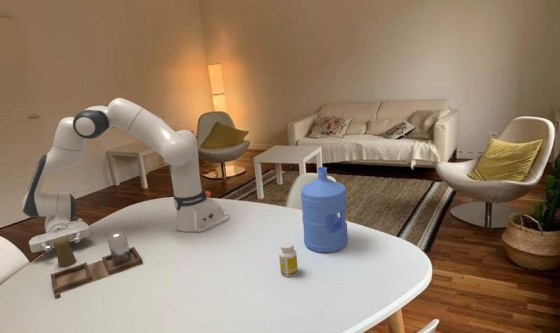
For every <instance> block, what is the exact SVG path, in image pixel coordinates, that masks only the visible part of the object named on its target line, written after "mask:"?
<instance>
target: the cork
mask: <svg viewBox="0 0 560 333" xmlns="http://www.w3.org/2000/svg"><path fill="white" fill-rule="evenodd" d="M53 245H54V247H53V248H54V249H56V256H57V264H58V268H65V269H66V268H68V267H69V268H70V267H72V266H74V265H75V264H76V263H77V259H76V257H75V254H74V252H73V250H72V248H71V242H70V239H69V238H68V237H65V236H64V237H59V238H57V239H55V240H54V242H53Z"/></svg>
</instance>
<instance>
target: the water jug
mask: <svg viewBox="0 0 560 333" xmlns="http://www.w3.org/2000/svg"><path fill="white" fill-rule="evenodd" d="M327 170H328V168H327V167H325V166H320V167H318V168H317V176H318V178H317V179H315V180H313V181H311V182H309V183H306V184H305V185H303V186H302V187H301V189H300V199H301V200H300V202H301V209H302V211H301V212H302V216H301V219H302V225H303V243H304V246H306V247H307V248H308V249H309V250H311V251H314V252H317V253H323V252H324V253H325V252H328V253H333V252H334V251H335V252H337V251H341V250H342V249H344V248H345V247H346V246H347V245H348V242H349V234H348V223H347V221H346V208H347V199H348V197H347V195H348V194H347V189H346V185H344V184H343V183H341V182H339V181H335V180H332V179H329V178H328V171H327ZM338 214H339V216H338ZM324 253H323V254H324Z"/></svg>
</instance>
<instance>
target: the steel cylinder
mask: <svg viewBox="0 0 560 333" xmlns="http://www.w3.org/2000/svg"><path fill="white" fill-rule="evenodd" d="M106 240H107V242H108V248H109V251H110V255H111V256H112V261H113V265H114V266H119V265H122V264H124V263H127V262H130V261H132V259H131V254H130V250H129V248H130V246H129V240H128V237H127V233H126V229H121V228H120V229H119V228H118V229H114V230H112V231H110V232H108V233H107V234H106Z"/></svg>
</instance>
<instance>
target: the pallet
mask: <svg viewBox="0 0 560 333" xmlns="http://www.w3.org/2000/svg"><path fill="white" fill-rule="evenodd" d="M129 250H130V254H131V259H132V261H130V262H127V263H124V264H122V265H119V266H114V265H113V261H112V256H111V254H109V255H105V256H102V257H101V259H102V260H98V261H95V262H93V263H89V264H88V263H87V262H84V263H81V264H80V263H79V264H78V265H75V266H74V265H73V266H70V267H69V268H68V267H67V268H65V269H63V270H59V271H56V272H54V273H50V279H51V280H50V281H51V284H52V285H51V286H52V290H53V293H54V297H55V299H59V298H61V297H62V295H61V294H63V293H66V292H68V291H72V290H74V289H77V288H80V287H83V286H86V285H89V284H91V283H94V282H96V281H100V280H103V279H105V278H108V277H112V276H114V275H116V274H120V273H123V272H126V271H129V270H131V269H134V268H136V267H140V266H143V265H144V262H143V258H142V257H141V255H140V254H139V252H138V251H137V250H136V248H135V246H133V247H129Z"/></svg>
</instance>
